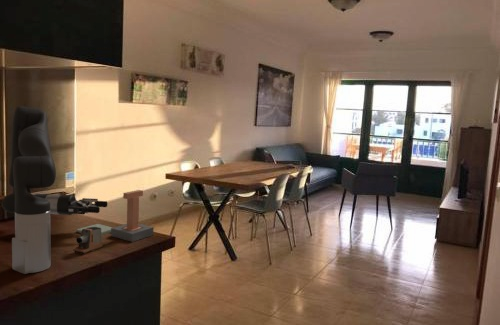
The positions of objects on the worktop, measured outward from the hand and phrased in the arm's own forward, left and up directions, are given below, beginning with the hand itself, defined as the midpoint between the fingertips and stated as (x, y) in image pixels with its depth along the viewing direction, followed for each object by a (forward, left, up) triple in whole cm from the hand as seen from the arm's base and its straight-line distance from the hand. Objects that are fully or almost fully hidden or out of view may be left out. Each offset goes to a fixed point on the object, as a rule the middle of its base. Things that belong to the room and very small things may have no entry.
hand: (103, 207), depth 156 cm
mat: (0, +4, -10) cm, 11 cm away
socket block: (+5, -10, -10) cm, 15 cm away
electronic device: (-15, -10, -11) cm, 21 cm away
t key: (+5, -10, -10) cm, 15 cm away
